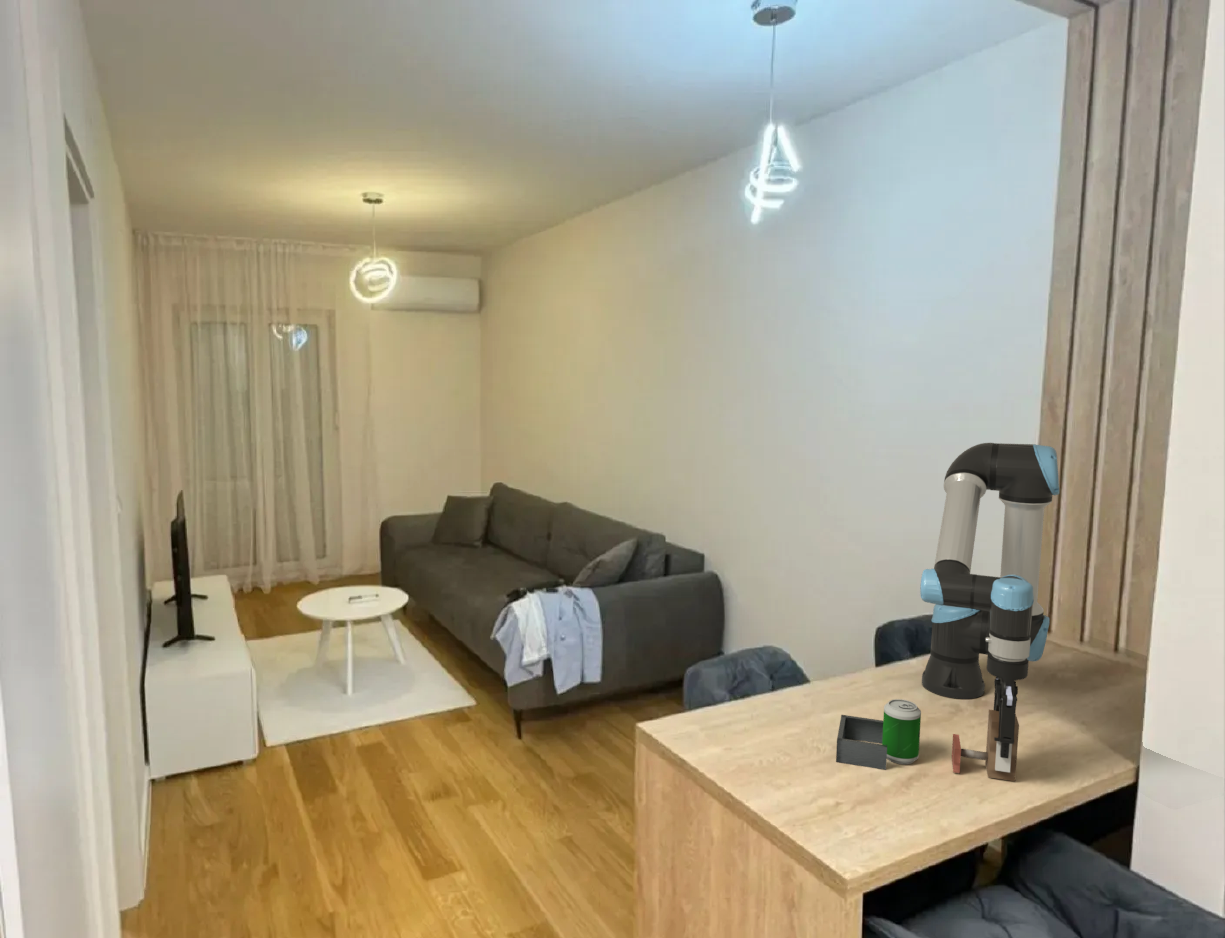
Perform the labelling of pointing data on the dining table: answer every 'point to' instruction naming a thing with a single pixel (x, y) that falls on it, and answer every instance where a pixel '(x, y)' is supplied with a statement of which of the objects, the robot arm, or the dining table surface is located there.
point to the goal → (859, 750)
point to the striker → (988, 750)
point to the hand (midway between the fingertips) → (1000, 762)
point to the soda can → (901, 731)
